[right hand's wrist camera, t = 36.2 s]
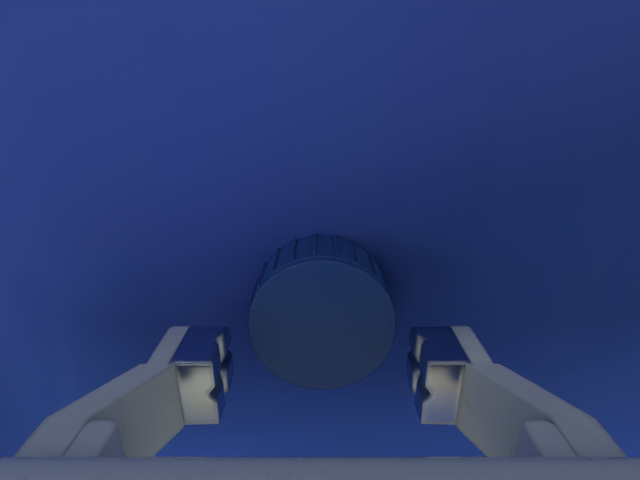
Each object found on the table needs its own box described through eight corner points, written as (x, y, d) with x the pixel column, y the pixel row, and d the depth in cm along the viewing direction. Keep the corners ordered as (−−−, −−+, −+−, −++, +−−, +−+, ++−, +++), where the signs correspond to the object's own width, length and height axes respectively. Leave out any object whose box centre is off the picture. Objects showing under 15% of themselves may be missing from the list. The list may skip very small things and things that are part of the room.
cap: (412, 287, 13) (430, 323, 11) (327, 368, 14) (328, 414, 12) (315, 205, 12) (314, 226, 10) (231, 298, 13) (214, 336, 11)
